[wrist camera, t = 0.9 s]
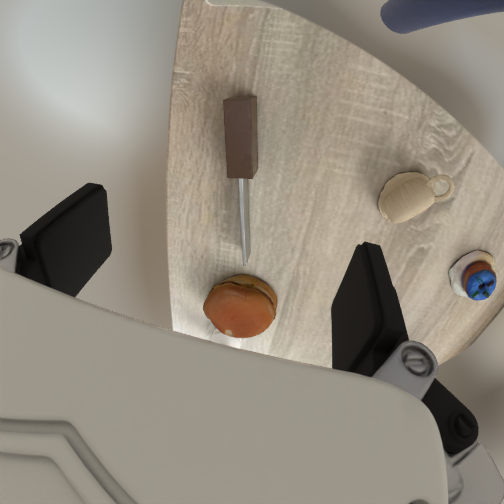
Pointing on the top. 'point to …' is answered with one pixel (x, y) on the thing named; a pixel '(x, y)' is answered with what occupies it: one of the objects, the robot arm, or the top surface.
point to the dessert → (474, 276)
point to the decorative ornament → (410, 195)
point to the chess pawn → (226, 339)
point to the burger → (241, 306)
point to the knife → (242, 154)
